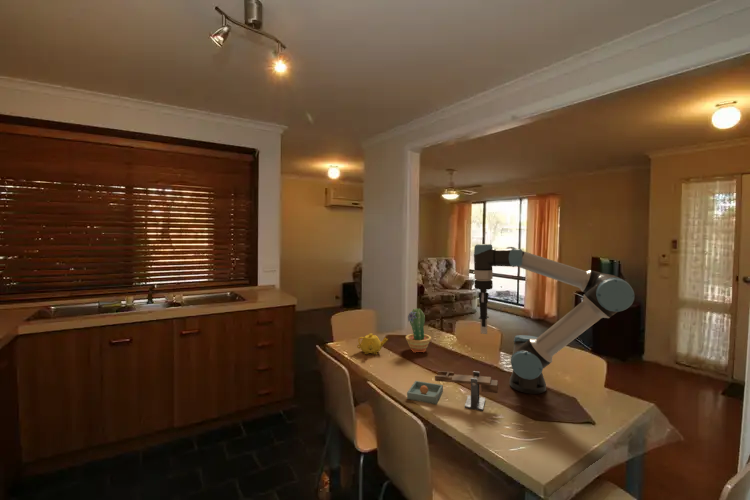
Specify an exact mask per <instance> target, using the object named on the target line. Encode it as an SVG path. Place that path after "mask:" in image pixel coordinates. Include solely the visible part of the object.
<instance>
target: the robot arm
mask: <svg viewBox="0 0 750 500" xmlns="http://www.w3.org/2000/svg"><path fill="white" fill-rule="evenodd" d="M473 264H474V265H473V267H474V269H473V270H474V271H473V272H472V274H473V275H474V276H473V277H474V289H475V290H479V291H480V292H478V302H479V316H478V319H479V320H480V334H483V335H488V319H489V318H490V316H489V315H488V303H489V295H490V294H489V292H488V290H492V289H493V287H494V286H493V280H492V279H493V276H494V275H493V273H494V271H493V267H512V268H517V267H518V268H520V269H523V270H526V271H529V272H532V273H535V274H538V275H541V276H544V277H547V278H550V279H552V280H556V281H558V282H561V283H563V284H566V285H569V286H572V287H575V288H579V290H580V291H581V292H583V293H584V294H583V299H582V301H581V302H580V303H578V304H577V305H576V306H575V307H574V308H572V309H571V310H570V311H569V312H567V313H566V314H565V315H564V316H563V317H561V318H559V320H557V321H556V322H555V323H554V324H553V325H551V326H550V327H549V328H548V329H546V330H545V331H544V332H543V333H541V334H540V335H539V336H534V335H525V334H521V335H519V334H517V335H515V336H514V338H513V351H512V355H511V358H510V363H511V364H510V365H511V368H512V373H511V375H510V377H509V386H510V387H511V388H512V389H514V390H516V391H517V392H521V393H525V394H529V395H530V394H531V395H539V394H543V393H545V392H546V391H547V382H546V379H545V378H544V375H543V374H544V373H543V370H544V369H545V368H546V367H547V366H549V365H551V363H553V356H555V355H556V354H558V352H560V351H562V349H564V348H565V347H566V346H567V345H569V344H570V343H572V342H573V341H574V340H575V339H576V338H579V336H580V335H582V334H583V333H584V332H585V331H587V330H589V328H591V327H592V326H593V325H594V324H596V323H598V322H599V321H600V320H601V319H603V318H604V319H610V318H611V317H612V316H614V315H615V314H617V313H619V312H623V311H625V310H627V309H629V308H630V307H631V306H632V305H633V303H634V301H635V292H634V288H632V285H630V283H629V282H628V281H626V280H625V279H622V278H620V277H619V276H618V275H617V276H616V275H614V274H608V273H603V272H599V271H595V270H592V269H589V270H584V269H581V268H577V267H574V266H571V265H568V264H566V263H562V262H558V261H556V260H552V259H549V258H546V257H543V256H540V255H537V254H533V253H531V252H527V251H524V250H523V249H521V248H516V247H514V246H508V247H506V248H494V247H493V244H491V243H481V244H478V243H477V244H476V245H474V248H473Z"/></svg>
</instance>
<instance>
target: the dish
mask: <svg viewBox="0 0 750 500" xmlns="http://www.w3.org/2000/svg"><path fill="white" fill-rule="evenodd" d="M423 385H425V386H427V388H428V392H427V393H426V394H422V393H421V392H420V387H421V386H423ZM443 392H444V385H443V384H437V383H434V382H433V383H431V382H426V381H419V380H415V381H414V382H413V384H411V387H410V388H409V389H408V390H407V392H406V399H407V400H410V401H417V402H422V403H427V404H433V405H438V402H439V400H440V398H441V396H442V394H443Z"/></svg>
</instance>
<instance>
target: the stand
mask: <svg viewBox="0 0 750 500" xmlns="http://www.w3.org/2000/svg"><path fill="white" fill-rule="evenodd" d="M472 374H473V375H472V376H475V375H476V376H481V375H480V374H481V373H480V371H478V370H477V371H475V370H473V371H472ZM485 402H486V397H482V396H481V397H480V385H479V384H477V379H476V378H471V384H470V394H468V395H467V398H466V401H465V404H464V409H469V410H475V411H480V412H484V408H485Z"/></svg>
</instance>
